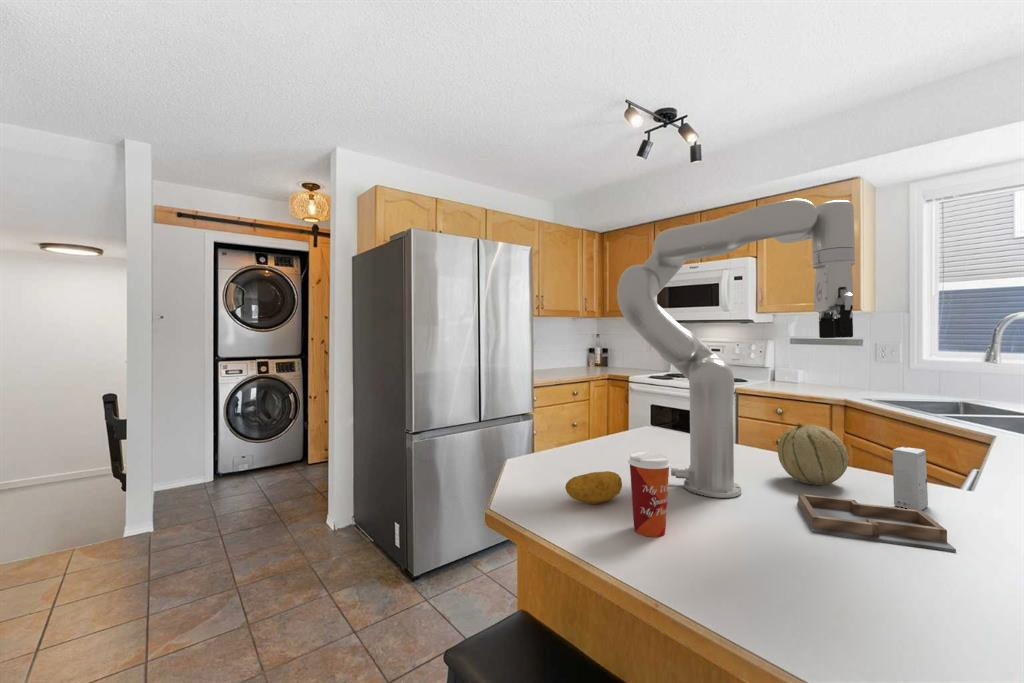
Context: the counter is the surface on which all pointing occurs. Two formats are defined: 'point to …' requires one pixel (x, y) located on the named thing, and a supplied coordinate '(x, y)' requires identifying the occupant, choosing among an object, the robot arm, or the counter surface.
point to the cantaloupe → (812, 454)
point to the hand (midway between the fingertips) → (835, 337)
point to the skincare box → (910, 478)
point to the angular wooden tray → (873, 522)
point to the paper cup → (649, 492)
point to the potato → (594, 487)
